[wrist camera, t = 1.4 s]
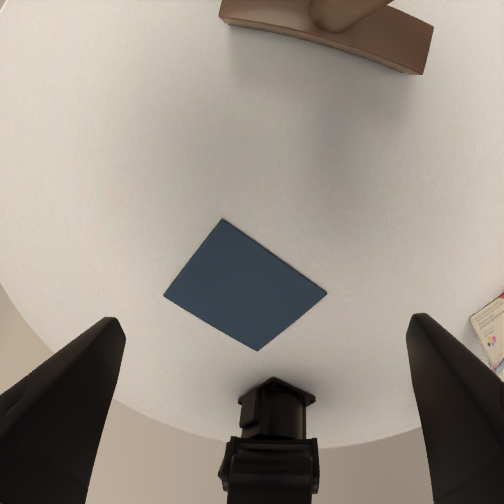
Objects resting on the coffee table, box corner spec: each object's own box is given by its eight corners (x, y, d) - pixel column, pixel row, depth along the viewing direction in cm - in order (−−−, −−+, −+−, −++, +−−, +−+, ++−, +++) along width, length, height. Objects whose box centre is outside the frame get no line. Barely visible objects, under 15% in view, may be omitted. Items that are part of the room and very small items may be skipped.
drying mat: (326, 292, 24) (327, 294, 24) (257, 349, 29) (257, 351, 28) (222, 218, 22) (221, 219, 22) (164, 293, 26) (162, 296, 26)
